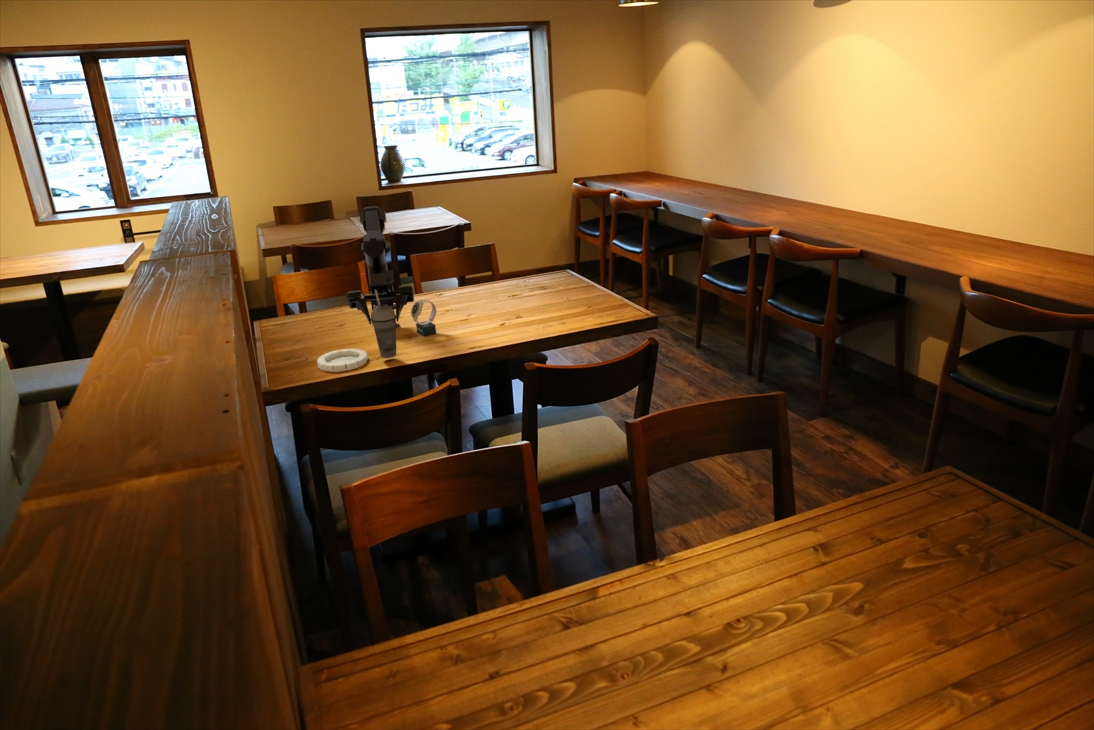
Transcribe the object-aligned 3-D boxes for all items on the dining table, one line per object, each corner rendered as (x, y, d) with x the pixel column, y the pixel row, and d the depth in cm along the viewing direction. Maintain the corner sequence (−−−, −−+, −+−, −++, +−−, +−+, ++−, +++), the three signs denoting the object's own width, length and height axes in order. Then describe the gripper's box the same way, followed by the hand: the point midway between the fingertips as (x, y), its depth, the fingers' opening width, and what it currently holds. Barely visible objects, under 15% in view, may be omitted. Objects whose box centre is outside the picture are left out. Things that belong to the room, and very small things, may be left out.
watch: (411, 333, 239) (407, 301, 235) (434, 328, 243) (430, 296, 239) (418, 338, 235) (414, 305, 231) (441, 332, 239) (437, 300, 235)
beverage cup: (395, 360, 213) (386, 293, 205) (372, 359, 214) (362, 293, 207) (404, 351, 219) (396, 286, 212) (382, 350, 221) (372, 286, 214)
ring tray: (311, 362, 219) (310, 357, 218) (355, 350, 226) (354, 345, 226) (329, 375, 208) (328, 369, 208) (375, 362, 216) (374, 356, 215)
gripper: (342, 264, 209) (346, 313, 203) (408, 257, 212) (415, 305, 206) (347, 284, 219) (352, 331, 213) (410, 277, 222) (417, 323, 216)
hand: (383, 322), depth 212 cm, fingers closed on beverage cup, 7 cm apart
